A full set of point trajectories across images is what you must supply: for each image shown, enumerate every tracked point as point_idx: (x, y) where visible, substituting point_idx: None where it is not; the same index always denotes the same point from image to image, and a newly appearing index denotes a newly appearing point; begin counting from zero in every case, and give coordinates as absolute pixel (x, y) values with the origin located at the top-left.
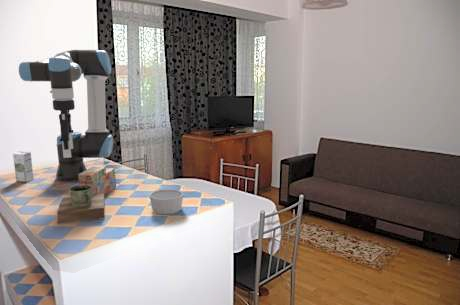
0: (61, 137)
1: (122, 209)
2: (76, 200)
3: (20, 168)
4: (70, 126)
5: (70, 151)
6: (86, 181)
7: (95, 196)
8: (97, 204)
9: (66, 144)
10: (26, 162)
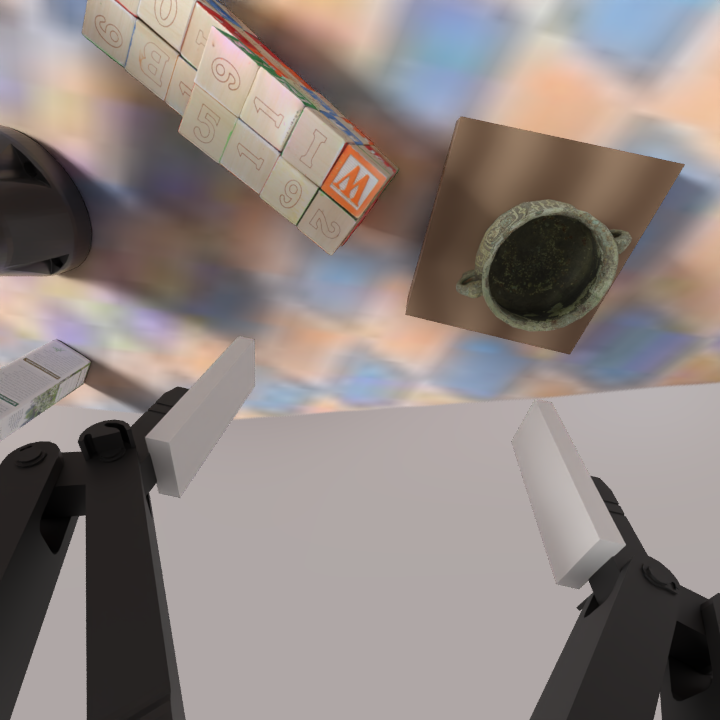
0: (709, 683)
1: (604, 30)
2: (574, 291)
3: (45, 400)
4: (112, 547)
5: (570, 440)
6: (368, 208)
7: (474, 172)
8: (606, 187)
9: (625, 537)
10: (14, 395)
